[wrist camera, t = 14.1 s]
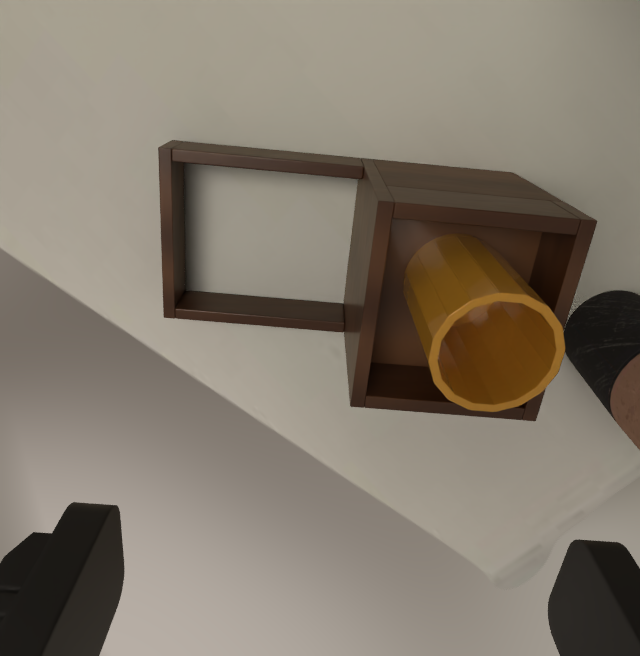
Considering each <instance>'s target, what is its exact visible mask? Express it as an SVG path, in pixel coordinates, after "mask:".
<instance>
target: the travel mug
mask: <svg viewBox="0 0 640 656" xmlns="http://www.w3.org/2000/svg"><path fill="white" fill-rule="evenodd" d="M564 341H565V351H566V354H567V356H568V357H569V359H570V361H571V362H572V363H573V365H574V366H575V368H576V369H577V370H578V372H579V373H580V374H581V376H582V377H583V378H584V380H585V381H586V382H587V384H588V385H589V386H590V388H591V389H592V390H593V392H594V393H595V394H596V396H597V397H598V398H599V400H600V401H601V402H602V404H603V405H604V406H605V408H606V409H607V410H608V412H609V413H610V414H611V416H612V417H613V418H614V420H615V421H616V422H617V424H618V425H619V426H620V427H621V428H622V430H623V431H624V432H625V433H626V434H627V436H628V437H629V438H630V439H631V440H632V441H633V443H634V444H635V445H636V446H637V447H638V449H639V450H640V295H638V294H635V293H632V292H628V291H610V292H605V293H602V294H599V295H597V296H594V297H592V298H591V299H589V300H587V301H586V302H584V303H583V304H582V305H581V306H580V307H578V308H577V309H576V311H575V312H574V313H573V314H572V316H571V317H570V318H569V320H568V322H567V324H566V327H565V330H564Z"/></svg>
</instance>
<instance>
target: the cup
mask: <svg viewBox="0 0 640 656" xmlns="http://www.w3.org/2000/svg"><path fill="white" fill-rule="evenodd" d="M403 293H404V297H405V300H406V304H407V308H408V311H409V314H410V316H411V319H412V322H413V325H414V328H415V331H416V334H417V336H418V339H419V342H420V345H421V348H422V351H423V354H424V356H425V359H426V362H427V365H428V368H429V371H430V373H431V376H432V379H433V382H434V384H435V385H436V386H437V387H438V388H439V390H440V391H441V392H442V393H443V394H444V395H445V397H446V398H447V399H448V400H450V401H452V402H454V403H456V404H458V405H460V406H462V407H464V408H466V409H469V410H475V411H487V412H497V411H501V410H505V409H509V408H513V407H517V406H519V405H522V404H524V403H525V402H527V401H529V400H530V399H532V398H533V397H535V396H537V395H538V394H540V393H541V392H543V390H544V389H545V388H546V387H547V386H548V384H549V383H550V382H551V381H552V379H553V378H554V377H555V376H556V375H557V373H558V372H559V368H560V365H561V362H562V359H563V356H564V353H565V341H564V333H563V327H562V325H561V323H560V322H559V320H558V319H557V317H556V316H555V315H554V313H553V312H552V310H551V309H550V308H549V306H548V305H547V304H546V303H545V302H544V301H543V300H542V299H541V298H540V297H539V296H538V295H537V294H536V293H535V291H534V290H533V289H532V288H531V287H530V286H529V285H528V284H527V283H526V282H525V281H524V280H523V279H522V277H521V276H520V275H519V274H518V273H517V272H516V271H515V270H514V269H513V268H512V267H511V266H510V265H509V264H508V262H507V261H506V260H505V259H504V258H503V257H502V256H501V255H500V254H499V253H498V252H497V251H496V250H495V249H494V248H493V247H492V246H490V245H489V244H488V243H487V242H485V241H484V240H482V239H480V238H478V237H476V236H472V235H469V234H458V233H456V234H448V235H443V236H440V237H438V238H435V239H433V240H431V241H429V242H428V243H426V244H425V245H423V246H422V247H421V248H420V249H419V250H418V251H417V252H416V253H415V254H414V255H413V257H412V258H411V259H410V261H409V263H408V265H407V267H406V270H405V273H404V277H403Z"/></svg>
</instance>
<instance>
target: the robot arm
mask: <svg viewBox="0 0 640 656" xmlns="http://www.w3.org/2000/svg"><path fill="white" fill-rule="evenodd" d="M123 580H124V557H123V545H122V533H121V520H120V511H119V508H118V506H117V505H103V504H88V503H75V502H73V503H71V504H70V505H69V506H68V507H67V509H66V510H65V512H64V513H63V515H62V517H61V519H60V520H59V522H58V524H57V526H56V527H55V529H54V531H53V533H52V534H51V533H35V532H33V533H32V534H31V535H30V536H28V537H27V538H26V539H25V540H24V541H22V542H21V543H20V544H19V545H18V546H17V547H15V548H14V549H13V550H12V551H10V552H9V553H8V554H7V555H6V556H5V557H4V558H3V560H2V561H1V563H0V656H99V654H100V652H101V649H102V646H103V644H104V641H105V639H106V636H107V633H108V631H109V628H110V625H111V622H112V620H113V617H114V614H115V612H116V609H117V606H118V603H119V600H120V596H121V592H122V586H123ZM548 619H549V625H550V630H551V634H552V636H553V639H554V642H555V644H556V647H557V649H558V652H559V654H560V656H640V568H639V567H638V565H637V564H636V562H635V560H634V559H633V557H632V556H631V554H630V553H629V551H628V550H627V548H626V547H625V546H624V545H622V544H620V543H618V542H604V541H589V540H574V541H573V542H572V543H571V544H570V546H569V548H568V550H567V553H566V556H565V558H564V561H563V563H562V566H561V569H560V571H559V574H558V576H557V579H556V582H555V584H554V587H553V589H552V592H551V595H550V598H549V602H548Z"/></svg>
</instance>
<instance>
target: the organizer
mask: <svg viewBox="0 0 640 656" xmlns="http://www.w3.org/2000/svg"><path fill="white" fill-rule="evenodd" d="M158 150H159V182H160V213H161V245H162V276H163V308H164V318H178V319H190V320H202V321H214V322H226V323H238V324H250V325H262V326H274V327H286V328H298V329H310V330H322V331H334V332H344V337H345V349H346V361H347V373H348V385H349V397H350V406H351V407H365V408H376V409H389V410H401V411H414V412H427V413H440V414H452V415H465V416H478V417H491V418H503V419H516V420H527V421H536V418H537V415H538V412H539V408H540V405H541V402H542V399H543V395H544V392H545V389H546V388H545V389H544V390H543V392H541V393H540V394H538V395H537V396H535V397H533V398H532V399H530V400H529V401H527V402H525V403H524V404H522V405H519V406H517V407H513V408H509V409H505V410H501V411H497V412H487V411H475V410H469V409H466V408H464V407H462V406H460V405H458V404H456V403H454V402H452V401H450V400H448V399H447V398H446V397H445V395H444V394H443V393H442V392H441V391H440V390H439V388H438V387H437V386H436V385H435V384H434V382H433V379H432V376H431V373H430V371H429V368H428V365H427V362H426V359H425V356H424V354H423V351H422V348H421V345H420V342H419V339H418V336H417V334H416V331H415V328H414V325H413V322H412V319H411V316H410V314H409V311H408V308H407V304H406V300H405V297H404V293H403V277H404V273H405V270H406V267H407V265H408V263H409V261H410V259H411V258H412V257H413V255H414V254H415V253H416V252H417V251H418V250H419V249H420V248H421V247H422V246H423V245H425V244H426V243H428V242H429V241H431V240H433V239H435V238H438V237H440V236H443V235H448V234H456V233H458V234H469V235H472V236H476V237H478V238H480V239H482V240H484V241H485V242H487V243H488V244H489V245H490V246H492V247H493V248H494V249H495V250H496V251H497V252H498V253H499V254H500V255H501V256H502V257H503V258H504V259H505V260H506V261H507V262H508V264H509V265H510V266H511V267H512V268H513V269H514V270H515V271H516V272H517V273H518V274H519V275H520V276H521V277H522V279H523V280H524V281H525V282H526V283H527V284H528V285H529V286H530V287H531V288H532V289H533V290H534V291H535V293H536V294H537V295H538V296H539V297H540V298H541V299H542V300H543V301H544V302H545V303H546V304H547V305H548V306H549V308H550V309H551V310H552V312H553V313H554V315H555V316H556V317H557V319H558V320H559V322H560V323H561V325H562V327H563V331H564V327H565V324H566V321H567V318H568V315H569V311H570V308H571V305H572V302H573V298H574V295H575V292H576V289H577V285H578V282H579V279H580V276H581V272H582V269H583V266H584V263H585V260H586V256H587V253H588V250H589V247H590V243H591V240H592V237H593V234H594V230H595V227H596V224H597V221H596V220H595V219H593V218H591V217H590V216H588V215H586V214H584V213H583V212H581V211H579V210H577V209H576V208H574V207H572V206H570V205H569V204H567V203H565V202H563V201H561V200H560V199H558V198H556V197H554V196H553V195H551V194H549V193H548V192H546V191H544V190H542V189H541V188H539V187H537V186H535V185H534V184H532V183H530V182H528V181H527V180H525V179H523V178H521V177H520V176H518V175H516V174H514V173H511V172H501V171H490V170H480V169H469V168H459V167H448V166H438V165H427V164H417V163H406V162H396V161H385V160H375V159H373V160H372V159H364V158H361V159H360V158H353V157H342V156H332V155H321V154H311V153H300V152H290V151H279V150H269V149H258V148H248V147H237V146H226V145H216V144H205V143H195V142H183V141H175V140H172V141H170V142H168V143H166V144H164V145H162V146H160V147H159V148H158ZM184 163H193V164H204V165H214V166H225V167H236V168H246V169H257V170H268V171H279V172H289V173H300V174H311V175H321V176H332V177H343V178H353V179H358V186H357V194H356V202H355V211H354V219H353V228H352V236H351V245H350V253H349V261H348V270H347V278H346V287H345V295H344V304H338V303H326V302H315V301H303V300H291V299H279V298H268V297H256V296H244V295H232V294H221V293H209V292H197V291H186V286H185V209H184Z"/></svg>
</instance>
